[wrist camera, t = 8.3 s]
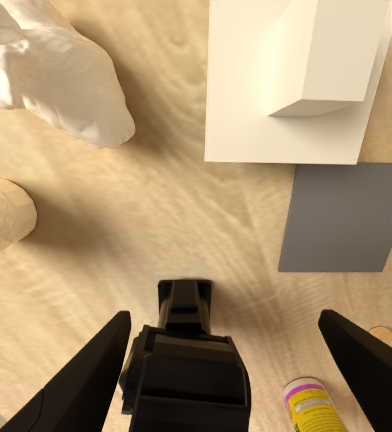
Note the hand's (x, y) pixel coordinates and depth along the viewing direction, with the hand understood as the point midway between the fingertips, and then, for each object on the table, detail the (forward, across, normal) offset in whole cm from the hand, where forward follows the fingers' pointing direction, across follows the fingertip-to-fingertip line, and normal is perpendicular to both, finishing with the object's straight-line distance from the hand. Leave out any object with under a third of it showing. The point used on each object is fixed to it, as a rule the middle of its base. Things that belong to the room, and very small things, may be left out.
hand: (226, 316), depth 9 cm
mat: (+13, -16, 0) cm, 20 cm away
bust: (+14, +11, -12) cm, 21 cm away
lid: (+8, -5, -12) cm, 15 cm away
